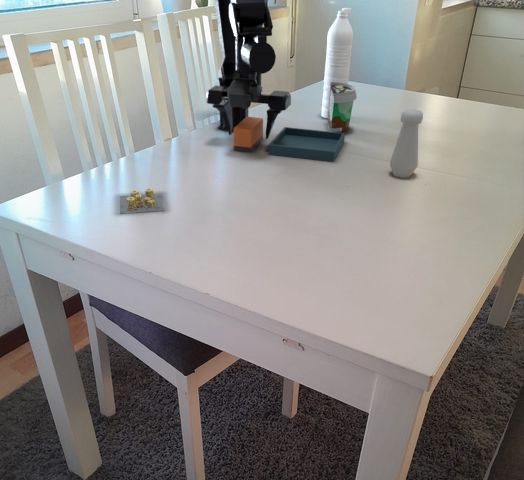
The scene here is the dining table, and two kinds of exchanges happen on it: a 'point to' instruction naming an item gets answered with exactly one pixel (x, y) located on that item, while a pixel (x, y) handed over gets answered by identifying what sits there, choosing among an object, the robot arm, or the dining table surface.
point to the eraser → (248, 134)
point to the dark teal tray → (307, 144)
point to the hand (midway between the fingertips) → (248, 136)
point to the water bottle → (337, 56)
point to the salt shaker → (406, 144)
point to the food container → (340, 106)
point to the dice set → (141, 202)
